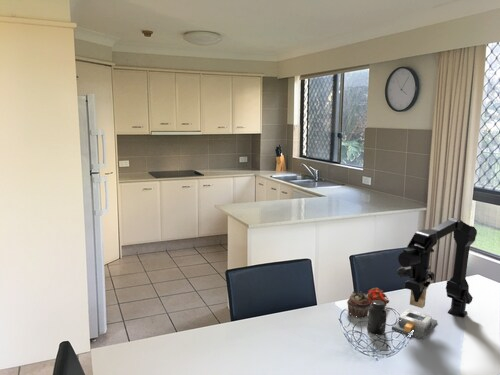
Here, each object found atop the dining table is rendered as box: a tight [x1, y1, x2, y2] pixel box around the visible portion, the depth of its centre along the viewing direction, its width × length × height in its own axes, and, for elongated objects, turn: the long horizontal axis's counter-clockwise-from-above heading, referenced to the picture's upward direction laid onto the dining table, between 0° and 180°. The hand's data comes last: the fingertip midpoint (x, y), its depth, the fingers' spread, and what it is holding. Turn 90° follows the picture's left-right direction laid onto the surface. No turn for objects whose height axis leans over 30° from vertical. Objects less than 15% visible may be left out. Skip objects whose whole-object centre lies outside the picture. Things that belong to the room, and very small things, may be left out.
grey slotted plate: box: [391, 308, 438, 340], centre depth 173 cm, size 18×12×4 cm, turn 140°
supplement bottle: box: [366, 300, 388, 336], centre depth 167 cm, size 7×7×12 cm
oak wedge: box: [409, 286, 428, 309], centre depth 171 cm, size 3×5×8 cm, turn 50°
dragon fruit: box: [366, 287, 390, 307], centre depth 190 cm, size 8×8×12 cm
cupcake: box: [346, 290, 371, 319], centre depth 181 cm, size 10×10×10 cm
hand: (417, 300), depth 171 cm, fingers closed on oak wedge, 3 cm apart
